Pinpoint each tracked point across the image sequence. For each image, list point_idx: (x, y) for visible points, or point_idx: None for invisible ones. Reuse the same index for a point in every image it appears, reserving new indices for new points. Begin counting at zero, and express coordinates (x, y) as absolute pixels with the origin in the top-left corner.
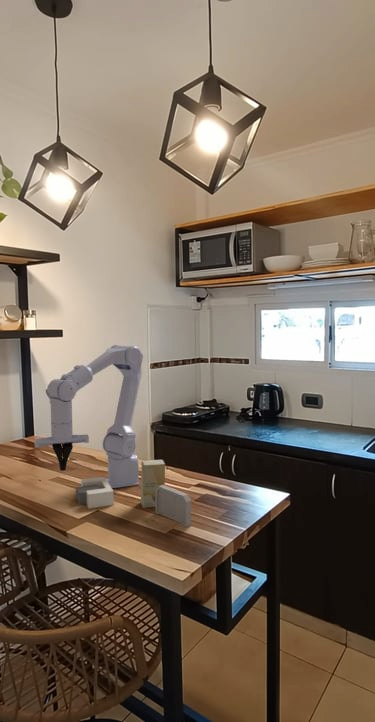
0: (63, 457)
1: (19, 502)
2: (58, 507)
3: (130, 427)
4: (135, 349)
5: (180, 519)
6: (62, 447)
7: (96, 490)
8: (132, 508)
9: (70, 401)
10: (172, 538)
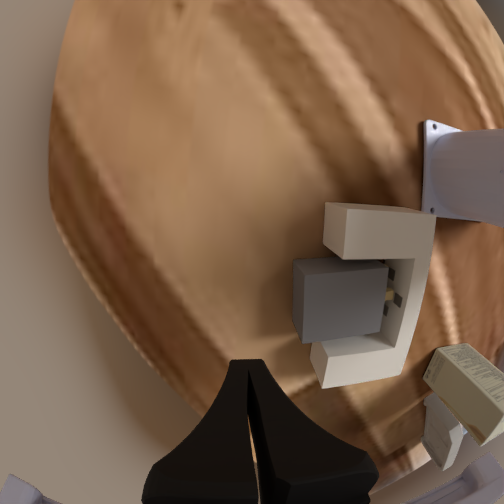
0: (258, 453)
1: (85, 224)
2: (217, 322)
3: None
4: None
5: (427, 433)
6: (269, 478)
7: (360, 362)
8: (404, 375)
9: None
10: (383, 465)
